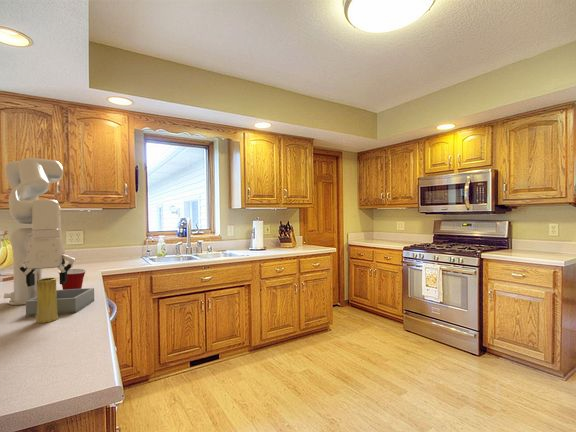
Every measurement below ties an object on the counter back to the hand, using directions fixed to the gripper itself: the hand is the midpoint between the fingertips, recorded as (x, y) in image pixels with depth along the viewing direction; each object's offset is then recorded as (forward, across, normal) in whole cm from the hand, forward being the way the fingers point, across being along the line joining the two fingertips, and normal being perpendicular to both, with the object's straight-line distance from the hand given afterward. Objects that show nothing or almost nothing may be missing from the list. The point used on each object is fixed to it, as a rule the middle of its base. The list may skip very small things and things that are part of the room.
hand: (47, 284), depth 108 cm
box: (+12, -2, +17) cm, 21 cm away
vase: (+13, 0, +1) cm, 13 cm away
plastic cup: (+12, -8, +38) cm, 40 cm away
